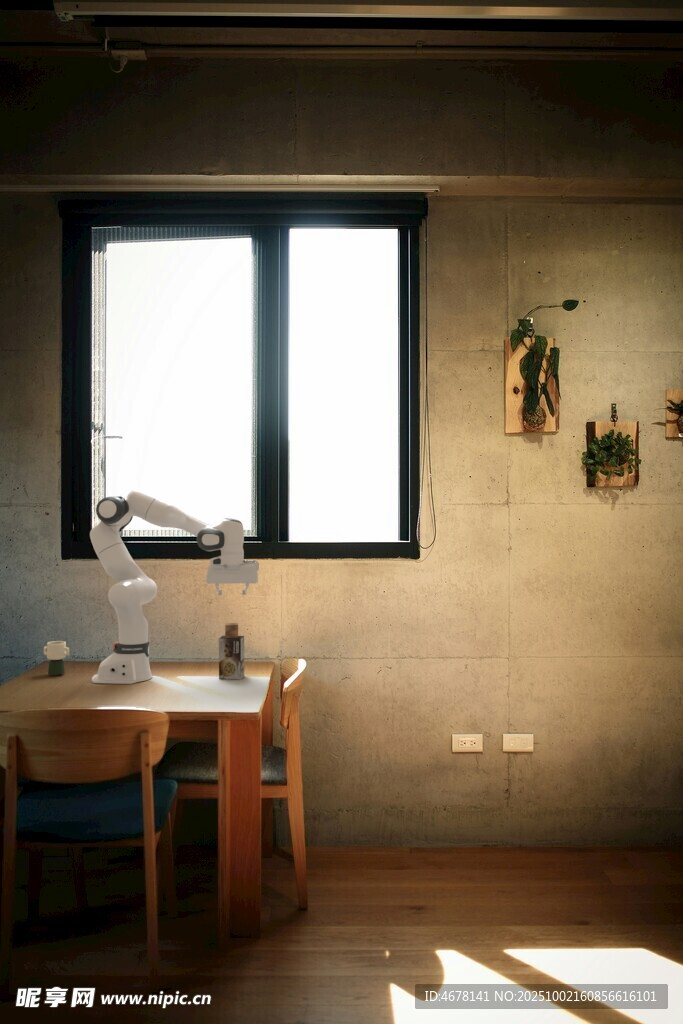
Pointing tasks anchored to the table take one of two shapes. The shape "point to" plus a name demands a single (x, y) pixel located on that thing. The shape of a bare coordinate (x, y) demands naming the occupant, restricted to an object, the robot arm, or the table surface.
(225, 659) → the coffee box
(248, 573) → the robot arm
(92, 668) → the table surface
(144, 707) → the table surface
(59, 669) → the trophy cup
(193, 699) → the table surface
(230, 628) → the walnut cube
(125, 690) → the table surface
